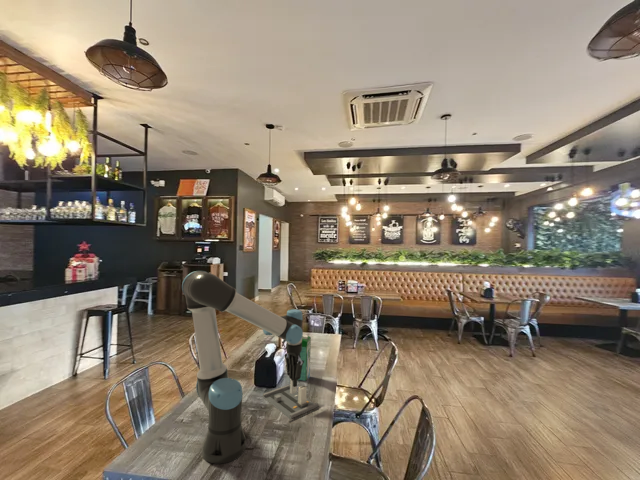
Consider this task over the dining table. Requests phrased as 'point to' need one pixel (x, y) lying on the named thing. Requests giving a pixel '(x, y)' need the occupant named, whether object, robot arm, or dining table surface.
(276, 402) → the console
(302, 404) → the fader
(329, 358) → the dining table surface
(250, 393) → the dining table surface
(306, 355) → the milk carton
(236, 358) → the dining table surface
